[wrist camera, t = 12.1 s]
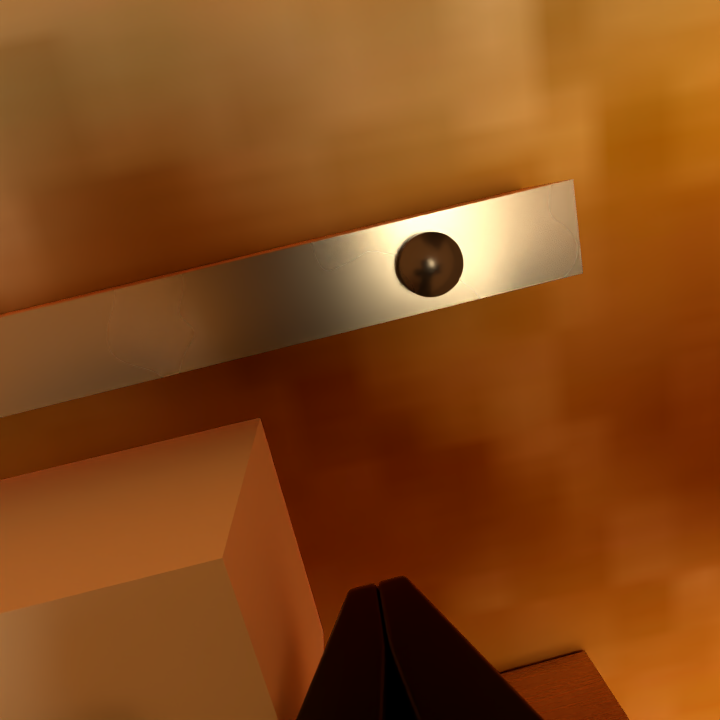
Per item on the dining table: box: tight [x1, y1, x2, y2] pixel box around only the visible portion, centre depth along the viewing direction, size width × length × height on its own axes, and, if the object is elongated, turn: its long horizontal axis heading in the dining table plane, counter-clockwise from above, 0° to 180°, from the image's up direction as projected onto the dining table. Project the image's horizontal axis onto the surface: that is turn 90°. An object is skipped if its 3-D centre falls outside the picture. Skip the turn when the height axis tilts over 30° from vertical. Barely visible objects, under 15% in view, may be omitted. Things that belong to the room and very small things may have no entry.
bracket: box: [0, 179, 629, 720], centre depth 7 cm, size 10×16×3 cm, turn 103°
